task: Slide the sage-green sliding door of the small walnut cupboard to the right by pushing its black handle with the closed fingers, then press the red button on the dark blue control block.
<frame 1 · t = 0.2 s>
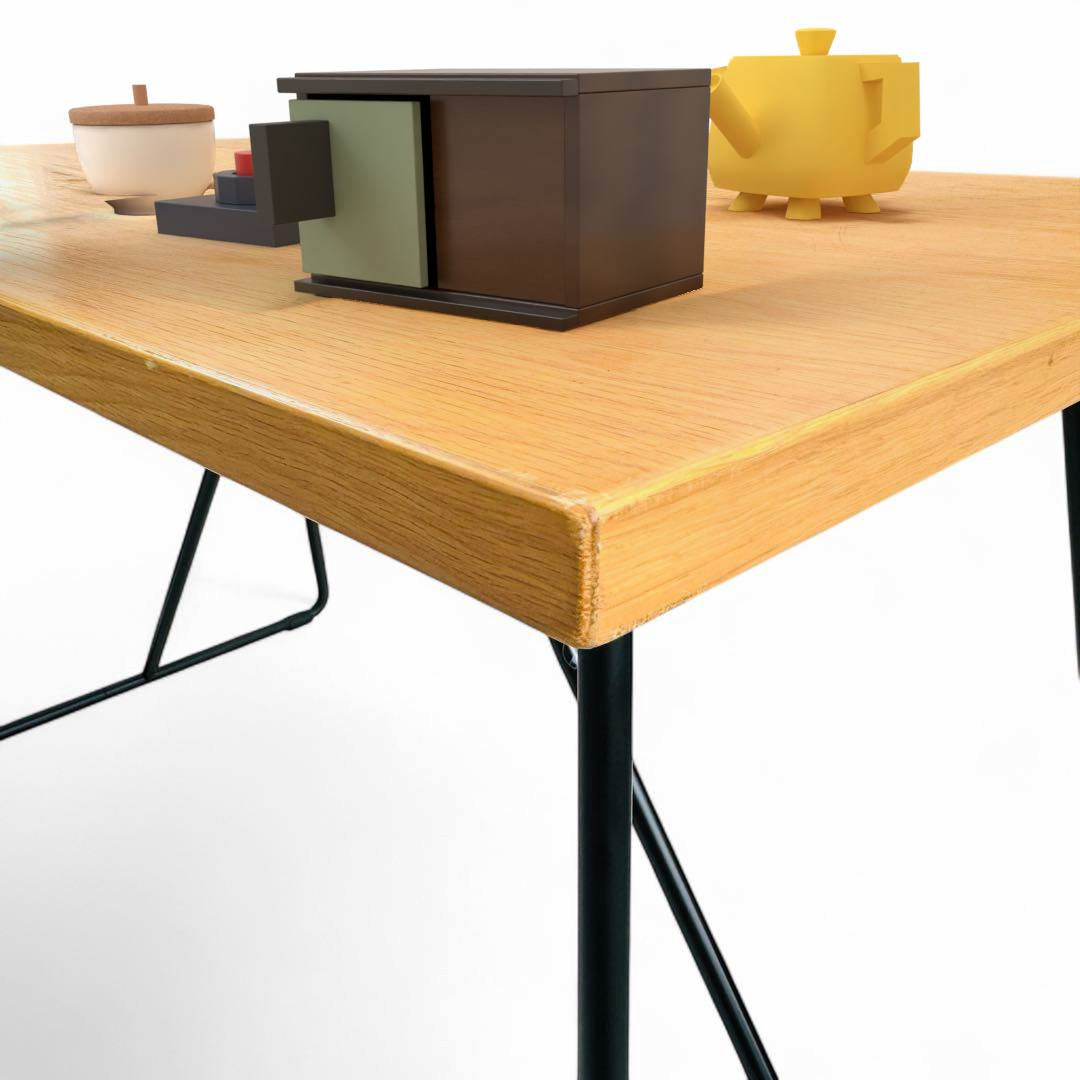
trinket box: (155, 213, 96), on the table
cupboard: (505, 288, 63), on the table
button: (265, 164, 82), point 4 cm above the table, slide at 0.1 cm
control block: (271, 231, 84), on the table
teapot: (787, 213, 92), on the table
sliding door: (327, 196, 57), point 5 cm above the table, slide at 0.0 cm
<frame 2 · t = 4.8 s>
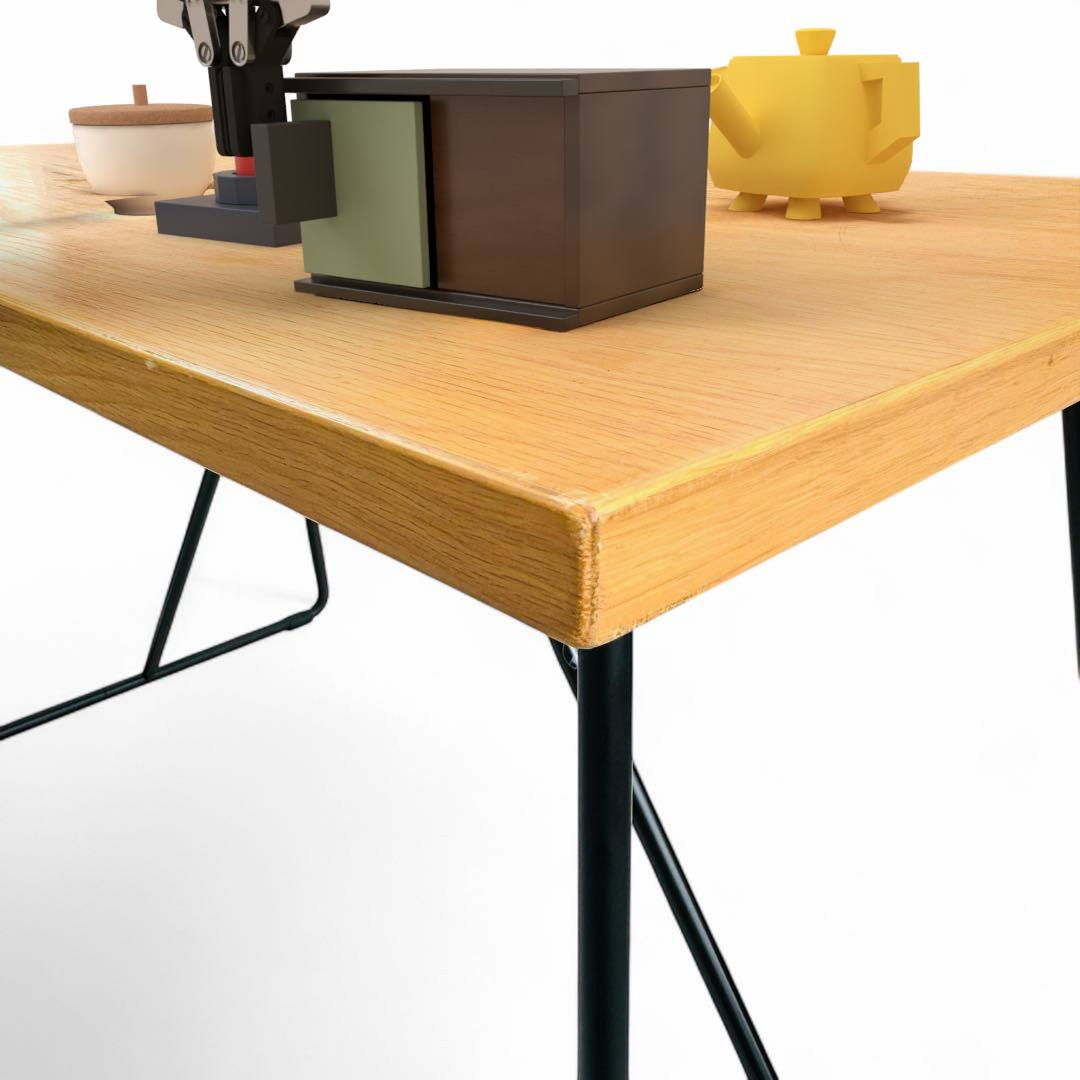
hand: (254, 154, 58), 7 cm above the table, tool pointing down, fingers closed
sliding door: (329, 196, 57), point 5 cm above the table, slide at 0.1 cm, touching gripper
everything else where it was.
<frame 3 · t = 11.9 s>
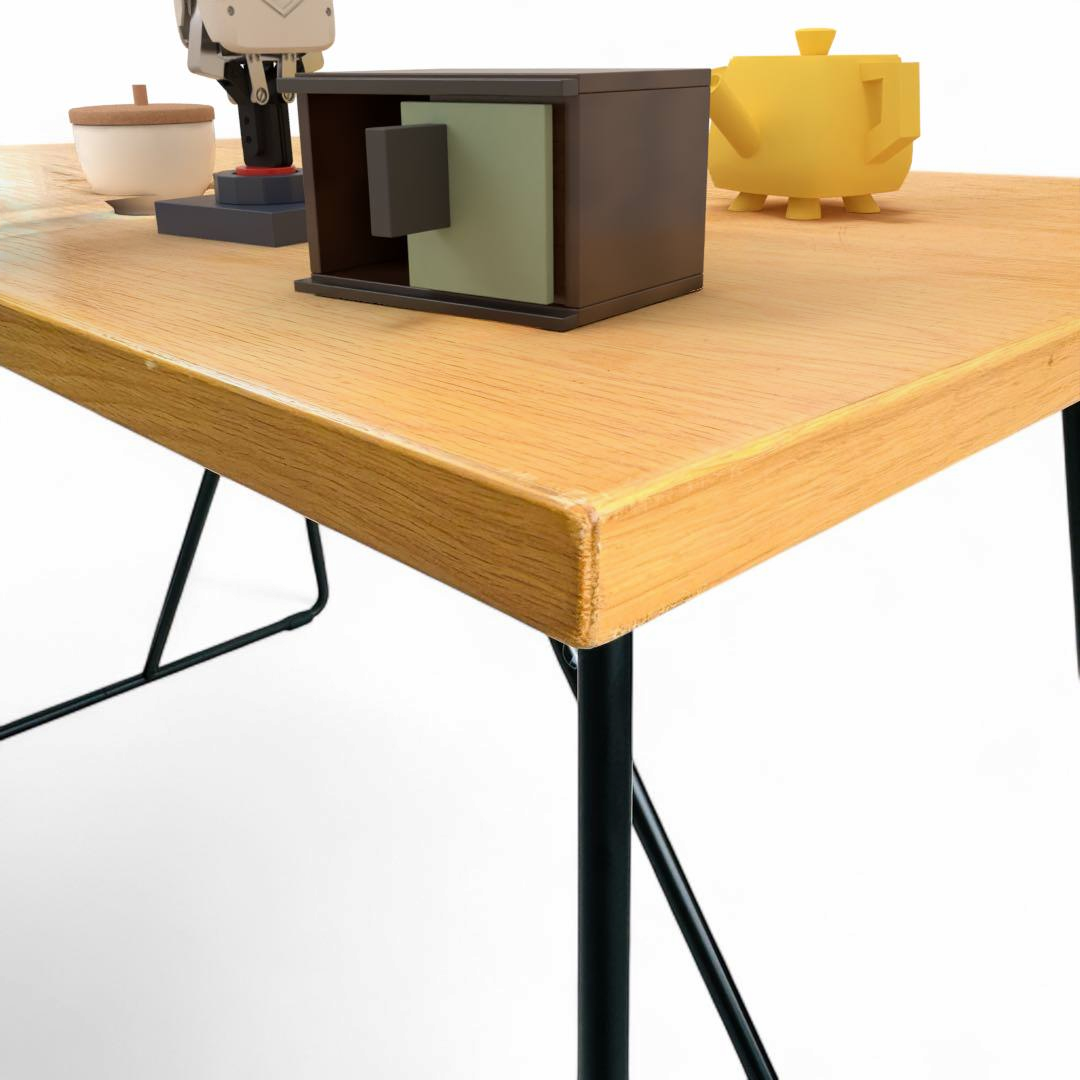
hand: (268, 165, 83), 4 cm above the table, tool pointing down, fingers closed
button: (266, 179, 83), point 4 cm above the table, slide at -0.9 cm, touching gripper
sliding door: (447, 206, 53), point 5 cm above the table, slide at 7.5 cm
everything else where it was.
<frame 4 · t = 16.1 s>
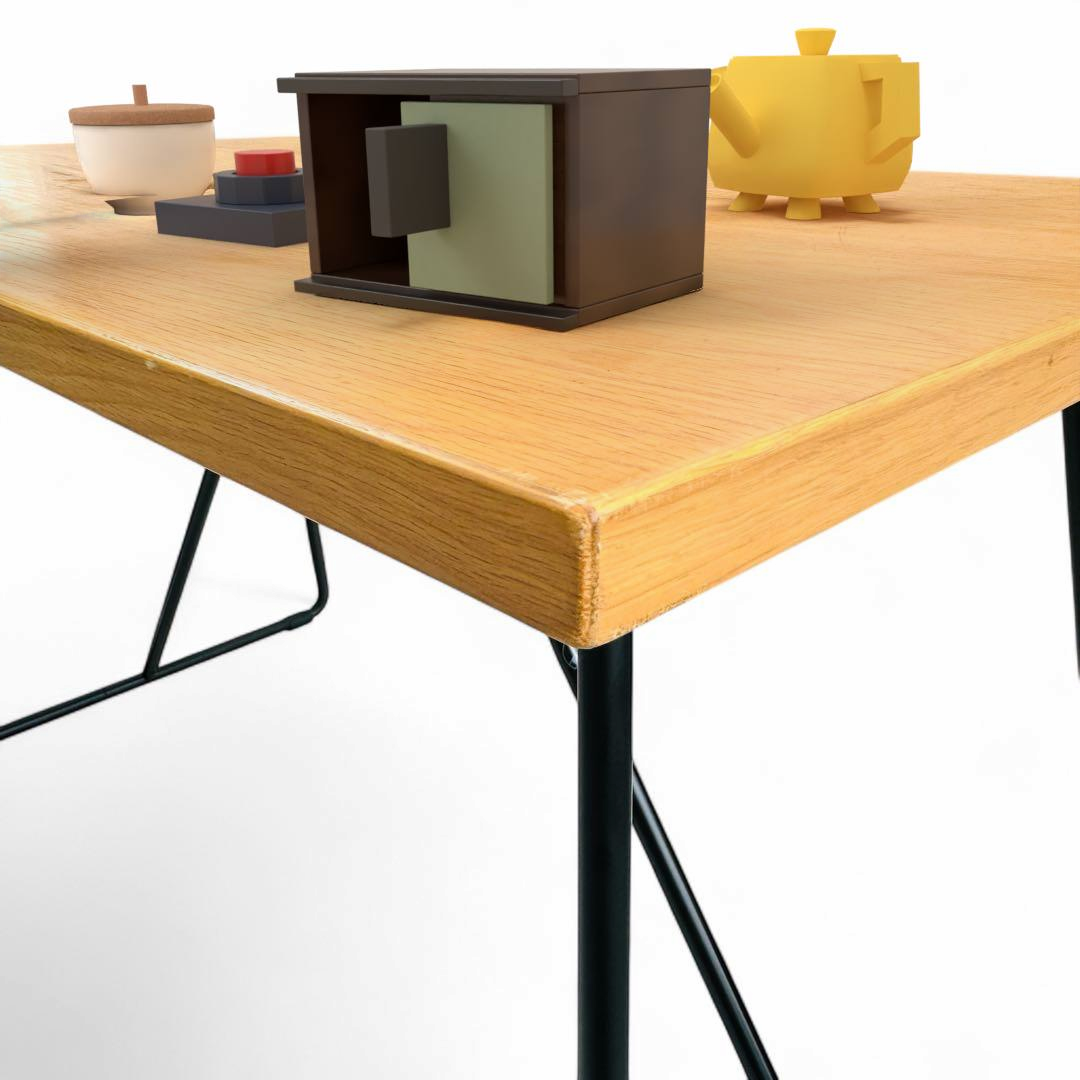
button: (265, 164, 82), point 4 cm above the table, slide at 0.1 cm
everything else where it was.
at the end: sliding door slide at 7.5 cm; button pushed in 1.1 cm at the most during the clip, back to where it started at the end; button slide at 0.1 cm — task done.
